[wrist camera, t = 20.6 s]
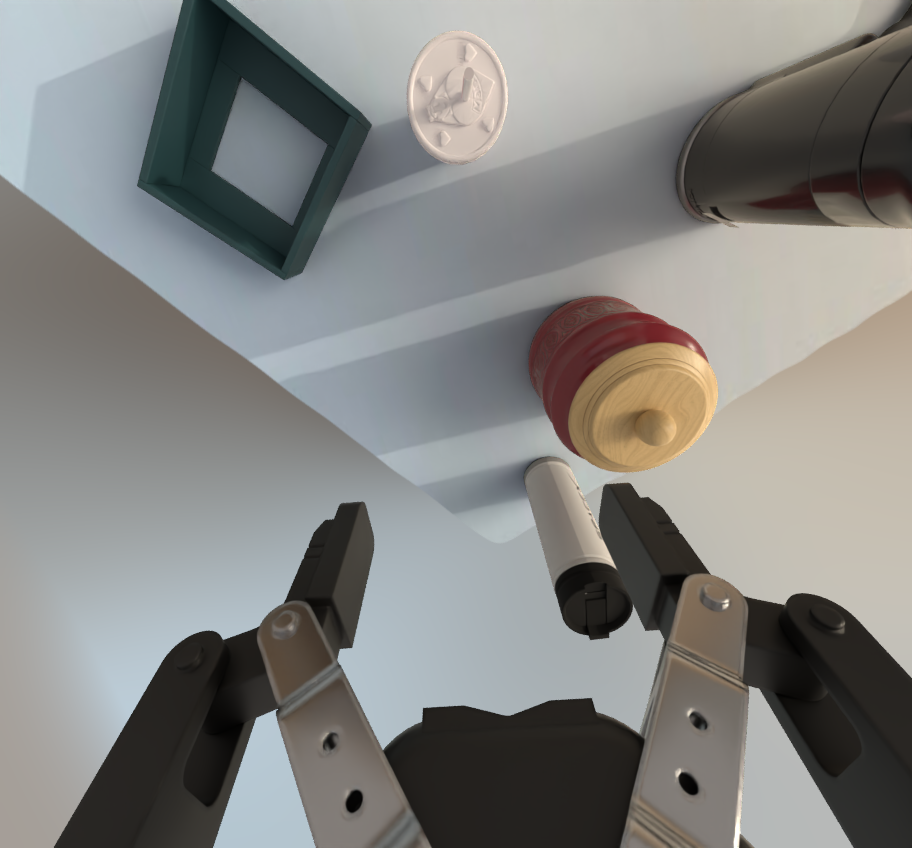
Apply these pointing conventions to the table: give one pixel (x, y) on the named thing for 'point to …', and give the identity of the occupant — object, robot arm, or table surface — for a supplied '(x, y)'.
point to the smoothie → (457, 97)
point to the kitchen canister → (621, 384)
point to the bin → (203, 122)
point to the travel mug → (575, 552)
